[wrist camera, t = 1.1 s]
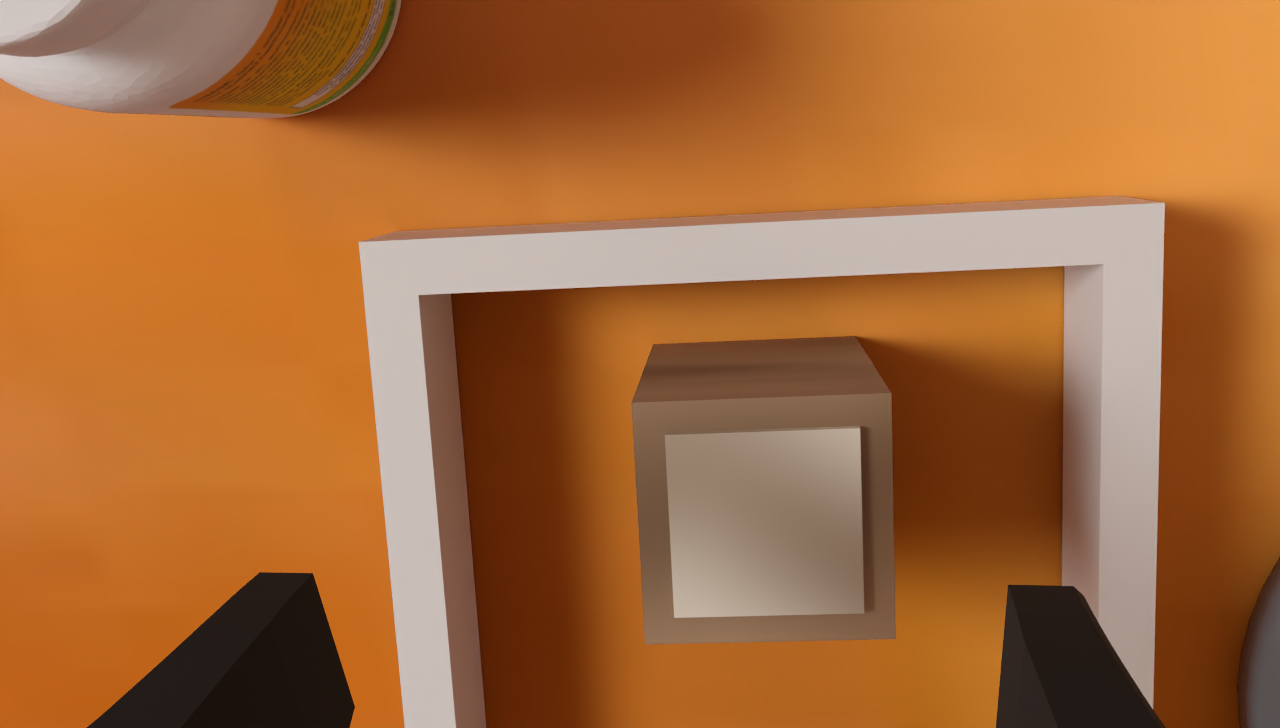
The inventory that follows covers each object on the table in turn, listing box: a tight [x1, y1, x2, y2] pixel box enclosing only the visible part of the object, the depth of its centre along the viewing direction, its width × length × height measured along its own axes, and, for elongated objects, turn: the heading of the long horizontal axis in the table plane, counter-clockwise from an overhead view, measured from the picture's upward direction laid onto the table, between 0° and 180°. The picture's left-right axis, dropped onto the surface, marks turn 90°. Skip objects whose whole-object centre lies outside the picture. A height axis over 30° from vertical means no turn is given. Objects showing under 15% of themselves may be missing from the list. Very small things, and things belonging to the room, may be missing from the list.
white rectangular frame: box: [359, 196, 1165, 728], centre depth 24 cm, size 18×14×2 cm
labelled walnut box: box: [632, 336, 896, 644], centre depth 22 cm, size 4×4×6 cm
